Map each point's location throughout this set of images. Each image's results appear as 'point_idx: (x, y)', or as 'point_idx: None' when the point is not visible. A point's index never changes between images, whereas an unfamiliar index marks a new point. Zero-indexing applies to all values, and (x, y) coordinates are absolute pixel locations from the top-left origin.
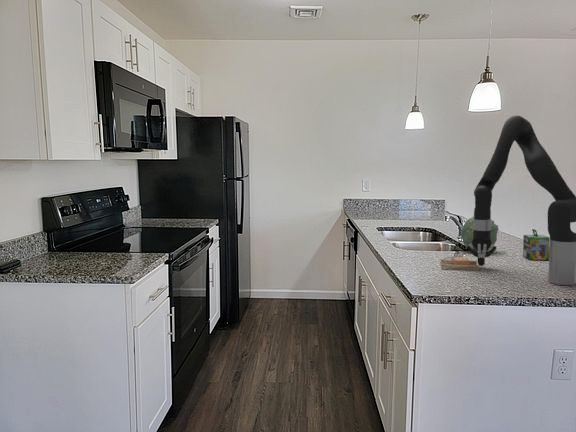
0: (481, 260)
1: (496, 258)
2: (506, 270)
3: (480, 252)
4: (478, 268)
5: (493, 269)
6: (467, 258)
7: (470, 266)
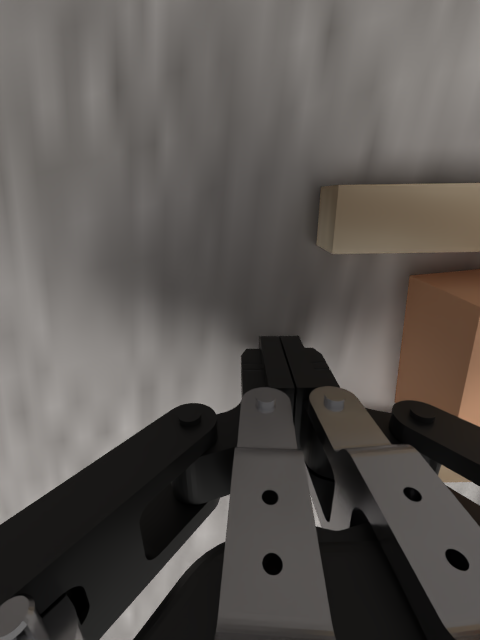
0: (288, 366)
1: (126, 632)
2: (11, 281)
3: (357, 451)
4: (335, 186)
5: (149, 299)
6: None
7: (456, 184)
